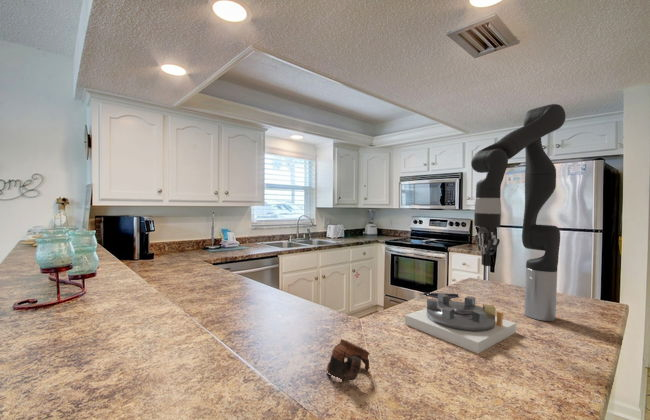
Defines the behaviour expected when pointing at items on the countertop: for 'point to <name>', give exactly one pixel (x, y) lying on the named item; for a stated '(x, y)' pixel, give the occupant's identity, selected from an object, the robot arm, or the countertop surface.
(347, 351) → the pottery mug
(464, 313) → the shallow round grey dish
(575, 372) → the countertop surface
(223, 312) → the countertop surface
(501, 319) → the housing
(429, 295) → the bracket
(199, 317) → the countertop surface
